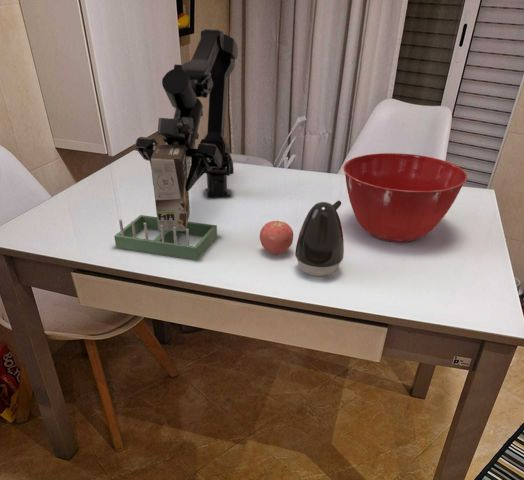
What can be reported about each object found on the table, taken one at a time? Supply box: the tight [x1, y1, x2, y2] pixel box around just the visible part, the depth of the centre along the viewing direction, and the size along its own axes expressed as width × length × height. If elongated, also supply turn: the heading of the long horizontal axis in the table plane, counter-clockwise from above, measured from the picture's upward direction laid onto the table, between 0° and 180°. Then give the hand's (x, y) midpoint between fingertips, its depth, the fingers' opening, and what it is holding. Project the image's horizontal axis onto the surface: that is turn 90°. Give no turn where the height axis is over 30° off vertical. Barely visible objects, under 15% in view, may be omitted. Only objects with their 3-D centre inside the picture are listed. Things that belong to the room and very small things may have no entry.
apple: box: [259, 220, 294, 256], centre depth 112 cm, size 7×7×8 cm
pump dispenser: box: [294, 200, 345, 277], centre depth 103 cm, size 10×10×15 cm
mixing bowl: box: [343, 152, 468, 243], centre depth 121 cm, size 28×28×16 cm
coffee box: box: [150, 144, 191, 231], centre depth 109 cm, size 9×6×16 cm
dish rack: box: [113, 214, 218, 261], centre depth 116 cm, size 13×20×7 cm, turn 74°
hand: (170, 188), depth 109 cm, fingers closed on coffee box, 7 cm apart
